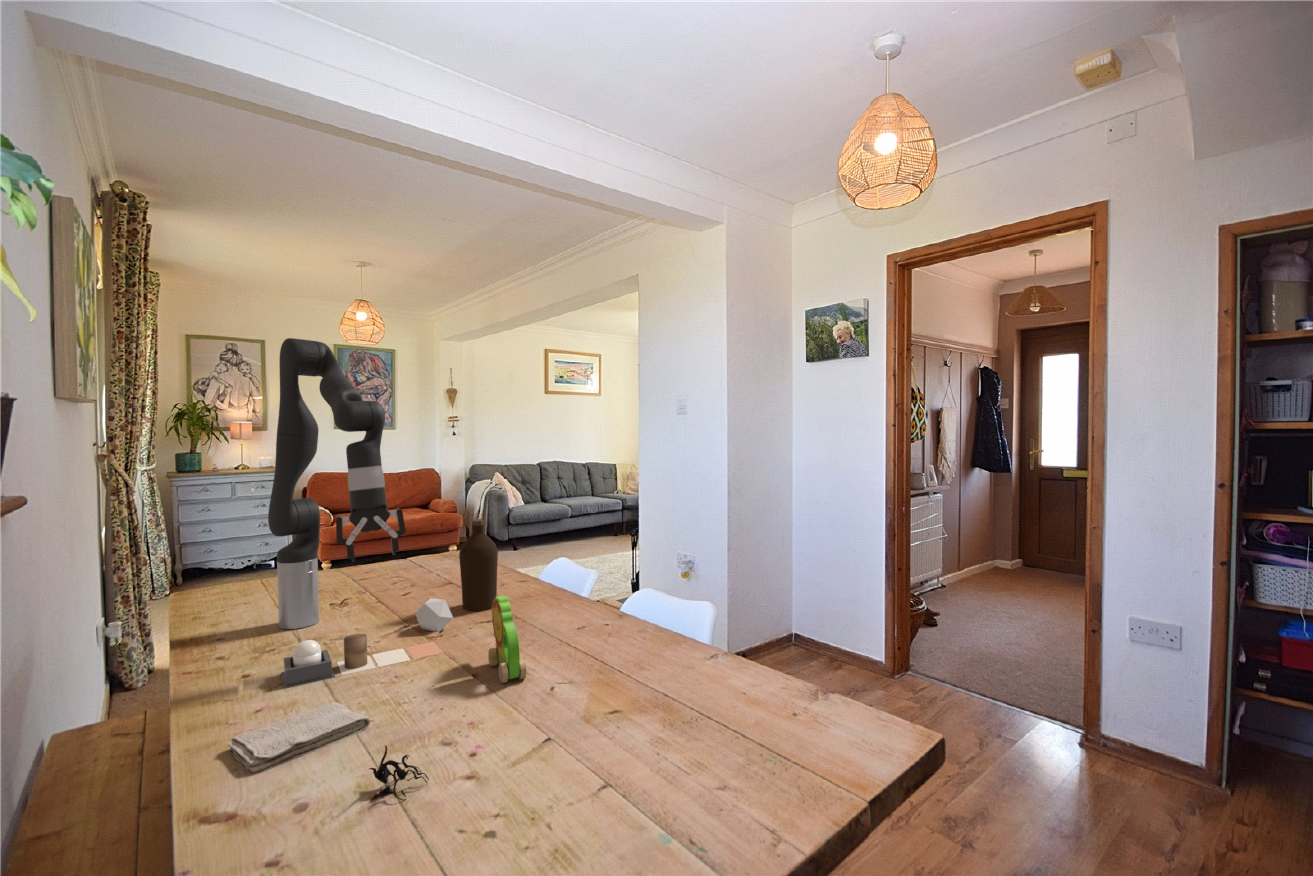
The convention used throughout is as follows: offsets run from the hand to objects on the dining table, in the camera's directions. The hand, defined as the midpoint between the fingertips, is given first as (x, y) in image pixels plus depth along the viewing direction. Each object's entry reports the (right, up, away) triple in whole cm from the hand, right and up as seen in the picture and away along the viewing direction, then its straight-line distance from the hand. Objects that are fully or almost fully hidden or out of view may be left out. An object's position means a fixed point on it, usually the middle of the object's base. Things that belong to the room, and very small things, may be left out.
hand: (374, 557), depth 136 cm
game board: (+6, -22, -4) cm, 23 cm away
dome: (-8, -20, -13) cm, 25 cm away
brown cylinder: (0, -22, -8) cm, 23 cm away
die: (+8, -22, +16) cm, 28 cm away
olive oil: (+14, -21, +36) cm, 44 cm away
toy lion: (+33, -22, -10) cm, 41 cm away
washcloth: (+5, -24, -37) cm, 44 cm away
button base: (-8, -23, -13) cm, 27 cm away
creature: (+28, -23, -50) cm, 62 cm away
